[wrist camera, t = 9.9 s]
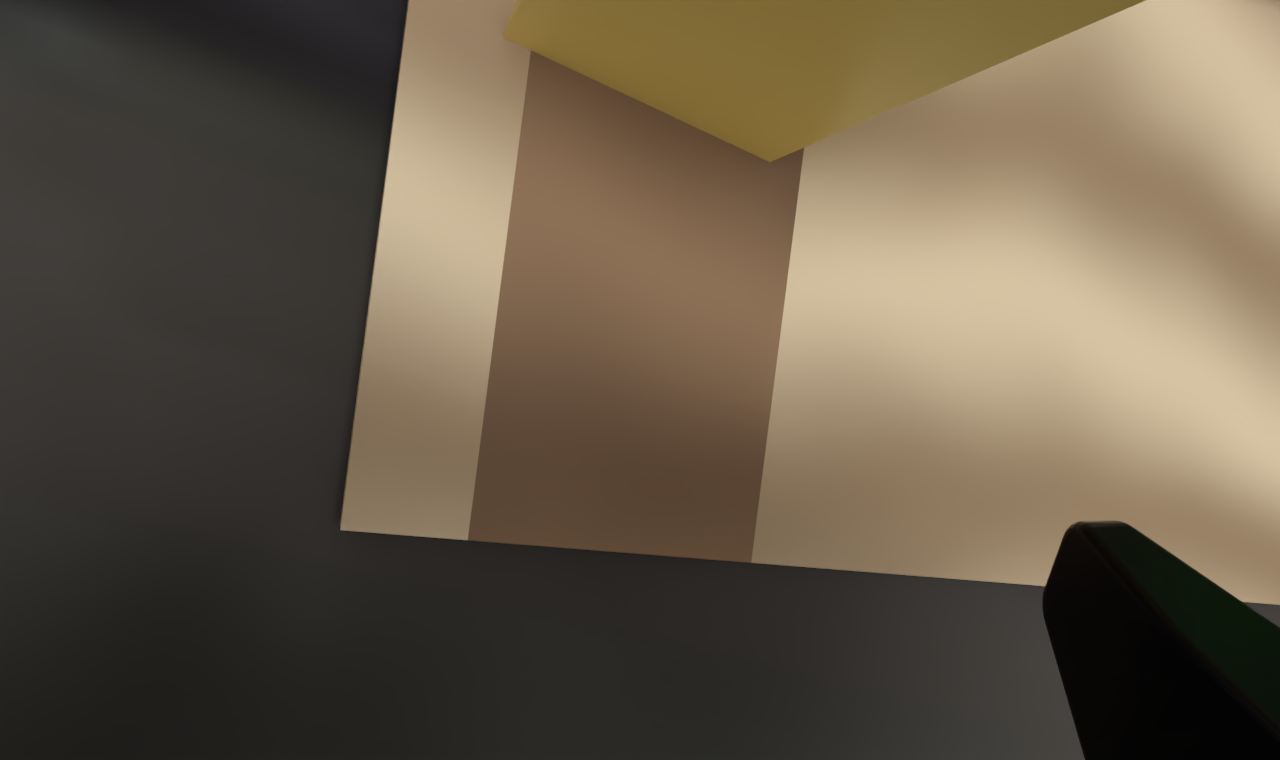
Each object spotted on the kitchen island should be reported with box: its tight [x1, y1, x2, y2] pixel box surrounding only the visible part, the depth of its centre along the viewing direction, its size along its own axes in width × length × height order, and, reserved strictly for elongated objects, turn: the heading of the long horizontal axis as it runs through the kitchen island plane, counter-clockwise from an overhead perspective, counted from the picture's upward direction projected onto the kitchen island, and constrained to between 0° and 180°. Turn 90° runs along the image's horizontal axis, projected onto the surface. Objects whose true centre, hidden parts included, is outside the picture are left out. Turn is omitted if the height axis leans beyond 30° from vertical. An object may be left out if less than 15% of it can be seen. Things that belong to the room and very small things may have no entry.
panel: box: [340, 0, 1280, 605], centre depth 19 cm, size 15×21×1 cm
